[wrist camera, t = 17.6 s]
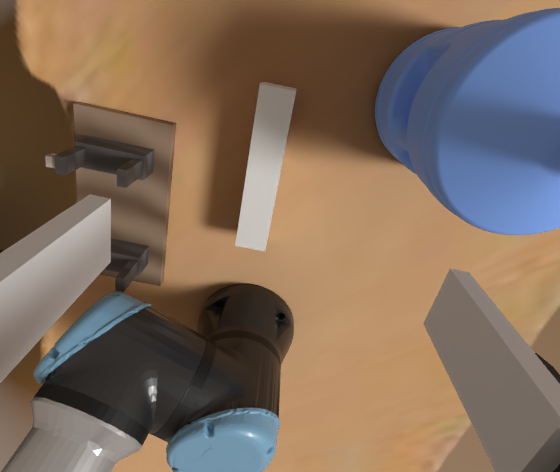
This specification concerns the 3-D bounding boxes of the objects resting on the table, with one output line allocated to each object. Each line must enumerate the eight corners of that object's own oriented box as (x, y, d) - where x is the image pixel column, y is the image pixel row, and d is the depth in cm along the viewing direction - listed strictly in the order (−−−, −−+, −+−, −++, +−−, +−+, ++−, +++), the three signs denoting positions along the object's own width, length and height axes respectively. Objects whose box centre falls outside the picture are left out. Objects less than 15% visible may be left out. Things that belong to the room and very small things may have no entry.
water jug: (498, 3, 39) (865, -97, 14) (515, 141, 45) (789, 245, 20) (357, 62, 42) (449, 67, 17) (391, 184, 48) (495, 321, 23)
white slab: (267, 234, 53) (265, 251, 48) (240, 229, 52) (235, 245, 48) (296, 88, 44) (296, 91, 39) (263, 81, 44) (259, 83, 39)
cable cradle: (163, 280, 56) (139, 320, 48) (84, 265, 56) (46, 302, 47) (176, 123, 46) (148, 137, 37) (79, 102, 45) (29, 112, 37)
